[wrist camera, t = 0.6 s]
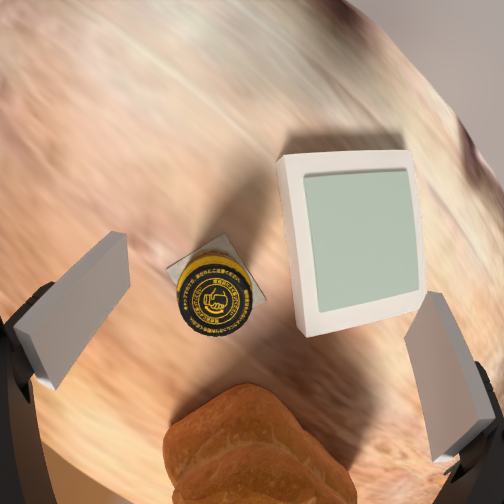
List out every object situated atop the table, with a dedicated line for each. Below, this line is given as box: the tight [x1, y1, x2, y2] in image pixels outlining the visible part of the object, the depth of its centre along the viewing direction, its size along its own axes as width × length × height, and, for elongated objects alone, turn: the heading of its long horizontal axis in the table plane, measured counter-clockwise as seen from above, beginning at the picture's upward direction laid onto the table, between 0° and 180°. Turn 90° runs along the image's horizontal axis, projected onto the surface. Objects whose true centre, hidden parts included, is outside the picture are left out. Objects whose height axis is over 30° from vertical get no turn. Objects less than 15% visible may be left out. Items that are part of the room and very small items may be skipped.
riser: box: [275, 150, 426, 338], centre depth 33 cm, size 18×15×5 cm
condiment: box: [166, 233, 266, 337], centre depth 28 cm, size 7×8×12 cm
